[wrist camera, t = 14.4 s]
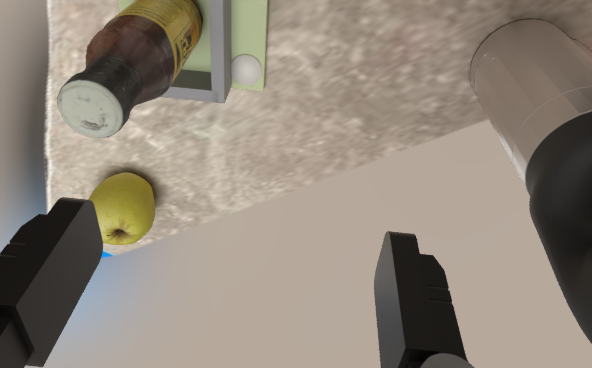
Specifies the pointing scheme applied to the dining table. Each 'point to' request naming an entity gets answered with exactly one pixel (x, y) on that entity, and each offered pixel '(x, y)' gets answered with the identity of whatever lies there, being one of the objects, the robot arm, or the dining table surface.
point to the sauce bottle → (130, 64)
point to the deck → (223, 51)
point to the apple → (124, 208)
